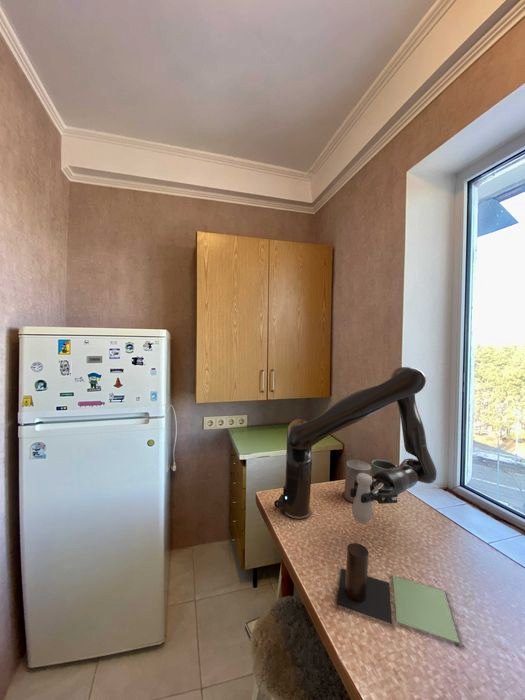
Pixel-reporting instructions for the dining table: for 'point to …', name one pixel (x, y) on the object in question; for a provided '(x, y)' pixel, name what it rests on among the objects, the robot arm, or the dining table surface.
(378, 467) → the grey-green plant pot
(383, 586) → the dark mat
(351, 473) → the pillar candle
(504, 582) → the dining table surface
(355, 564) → the dark brown cylinder
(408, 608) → the sage mat
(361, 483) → the salt shaker
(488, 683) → the dining table surface
